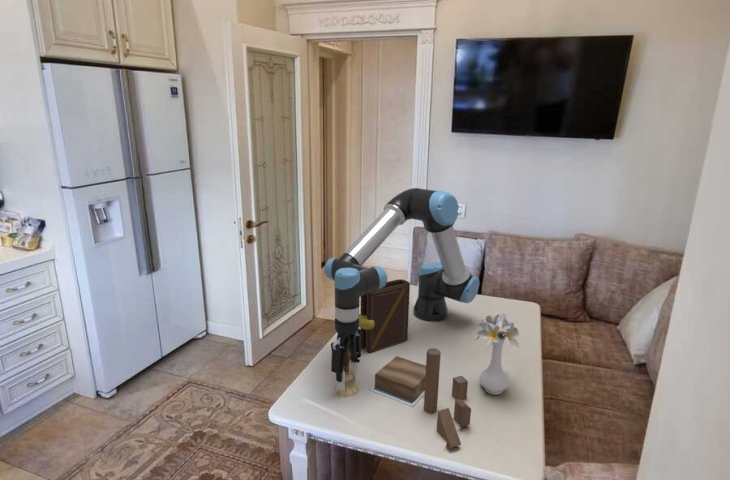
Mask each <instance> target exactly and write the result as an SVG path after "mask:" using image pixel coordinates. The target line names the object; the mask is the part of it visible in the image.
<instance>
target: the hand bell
mask: <svg viewBox="0 0 730 480" xmlns="http://www.w3.org/2000/svg"><path fill="white" fill-rule="evenodd" d="M350 358H351V352H350V349H349V348H348V351H347V352H346V358H345V364H344V370H343V371H345V390H344V391H342V390H339V389H337V385H335V387H334V388H333V391H334V394H336V395H337V396H339V397H342V398H349V397H353V396H356V395H357V394H358V393H359V391H360V388H359V386H357V384H356V383H355V382H354V378H353V375H352V374H350V373H349V362H350V361H351V360H350Z"/></svg>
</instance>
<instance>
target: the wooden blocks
mask: <svg viewBox="0 0 730 480" xmlns="http://www.w3.org/2000/svg"><path fill="white" fill-rule="evenodd" d="M441 353H442V352H441V350H440V349H438V348H436V347H435V348H433V347H431V348H428V349H426V361H425V366H426V375H425V393H424V396H423V411H424V412H425V413H427V414H430V415H431V414H436V413H437V419H436V421H437V422H436V432H437V433H438V434H439V435H440V437H442V439H443V440H444V441H445V442H446V445H447V447H449V448H450V449H452V448H454V447H455V448H456V447H458V446H462V443H461V439H460V437H459V436H460V435H459V433H458V430H457V428H456V426H455V422H456V423H457V424H458V427H459V428H463V427H467V426H469V425H471V415H472V414H471V413H472V408H471V407H470V406H469V405H468V404H467V403H466V402H465V401H463V400H467V396H468V386H469V385H468V384H469V381H468V379H466V378H465V377H464V376H463V375H460V376H459V375H458V376H455V377H453V378H452V386H451V396H452V398H453V399H455V400H454V409H453V410H454V411H453V417H452V414H451V411H450V408H449V407H447V408H443V409H440V410H438V400H439V398H438V397H439V384H440V383H439V381H440V370H441V368H440V366H441Z"/></svg>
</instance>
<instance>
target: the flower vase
mask: <svg viewBox="0 0 730 480" xmlns="http://www.w3.org/2000/svg"><path fill="white" fill-rule="evenodd" d="M485 321H486V322H485ZM485 321H484V319H481V322H480V323H479V324H478V327H480V329H479V330H478V332H477V335H478V336H477V338H476V340H475V341H478V340H479V338H480V339H482V340H486V341H485V343H484V345H485V346H484V347H485V348H486V349H487V348H489V347H490V346H491V345H492V347H491V358H490V363H489V365H488V367H487V368H486V369H484V370H483V371H481V372H480V375H479V378H478V379H479V383H480V385H481V387H483V390H484V391H485V392H486V393H488V394H490V395H493V396H494V395H497V396H498V395H501V394H502V393H503V392H504V391H505V390H506V389H507V388H509V385H510V380H509V377H508V376H507V374H506V372H505V371H504V370H503V367H502V353H503V346H504V343H505V340H506V339H508V341H509V343H510V345H511V346H514V345H515V346H516V347H517V348H518V347H519V342H518V340H517V337H519V335H520V332H519V329H518V328H517V327H515V324H514V322H513V321H508V319H507V314H506V313H504V312H502V313H501V314H499V313H498V314H496V315H495V316H491V315H489V314H488V315H486V317H485Z"/></svg>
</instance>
